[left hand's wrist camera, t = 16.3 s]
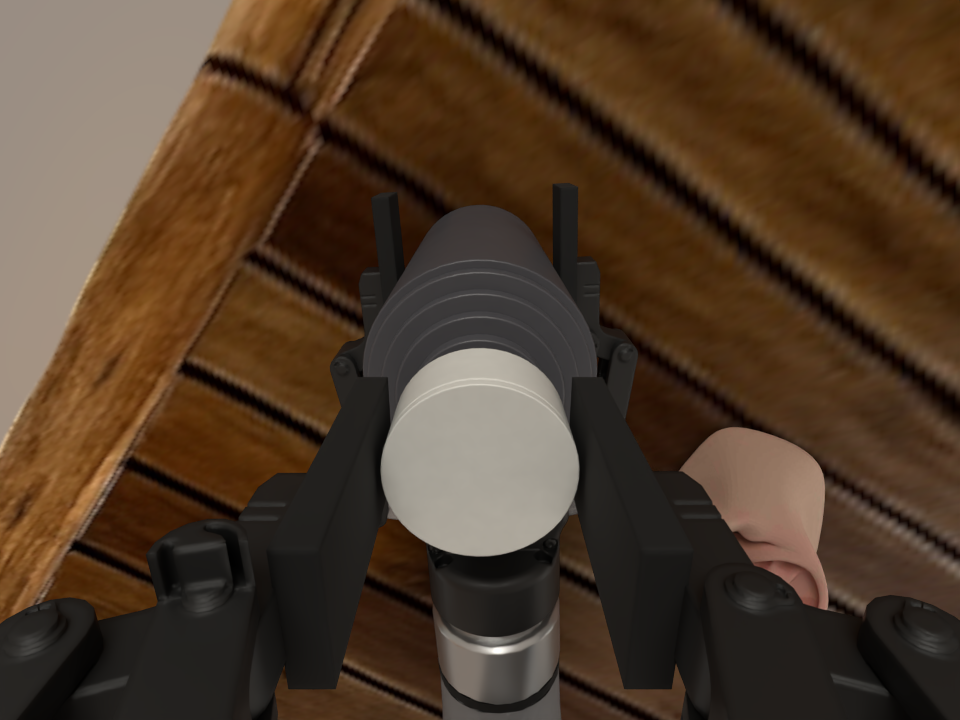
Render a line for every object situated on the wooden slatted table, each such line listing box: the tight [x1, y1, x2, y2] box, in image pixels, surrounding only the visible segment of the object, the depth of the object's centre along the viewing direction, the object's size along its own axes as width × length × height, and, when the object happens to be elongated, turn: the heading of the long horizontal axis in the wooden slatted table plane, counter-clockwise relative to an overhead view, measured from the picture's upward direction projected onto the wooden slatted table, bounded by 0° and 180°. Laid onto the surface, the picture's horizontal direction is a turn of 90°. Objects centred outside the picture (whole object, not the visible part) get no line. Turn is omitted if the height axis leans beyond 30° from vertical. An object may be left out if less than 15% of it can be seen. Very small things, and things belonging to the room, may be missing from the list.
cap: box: [380, 348, 580, 556], centre depth 14 cm, size 4×4×2 cm
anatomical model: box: [679, 427, 828, 610], centre depth 37 cm, size 13×4×12 cm
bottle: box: [363, 205, 597, 423], centre depth 23 cm, size 7×7×22 cm
